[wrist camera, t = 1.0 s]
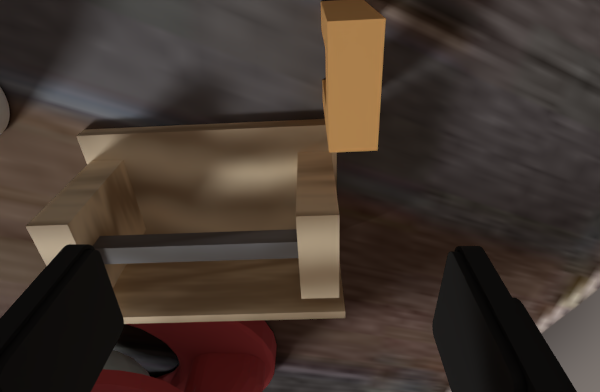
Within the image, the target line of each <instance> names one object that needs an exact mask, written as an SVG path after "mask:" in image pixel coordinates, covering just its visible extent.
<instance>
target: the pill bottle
mask: <svg viewBox="0 0 600 392" xmlns="http://www.w3.org/2000/svg"><path fill="white" fill-rule="evenodd" d="M9 117H10V110H9V104H8V101H7V98H6V96H5V94H4V92H3V90H2V89H1V87H0V135H1V134H2V133H3V131H4V130H5V129H6V127H7V125H8V122H9Z"/></svg>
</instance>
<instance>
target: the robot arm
mask: <svg viewBox="0 0 600 392" xmlns="http://www.w3.org/2000/svg"><path fill="white" fill-rule="evenodd" d="M123 327H124V319H123V316H122V313H121V310H120V307H119V304H118V301H117V299H116V296H115V293H114V290H113V287H112V285H111V282H110V279H109V276H108V273H107V270H106V268H105V265H104V262H103V259H102V256H101V254H100V252H99V251H98V250H95V249H94V247H93V246H92V245H89V244H69V245H66V246H65V247H63V248H62V250H61V251H60V252H59V253H58V254H57V255H56V256H55V257H54V259H53V260H52V261H51V262H50V263H49V264H48V265H47V267H46V268H45V269H44V270H43V271H42V272H41V273H40V274H39V276H38V277H37V278H36V279H35V280H34V281H33V282H32V283H31V285H30V286H29V287H28V288H27V289H26V290H25V291H24V292H23V294H22V295H21V296H20V297H19V298H18V299H17V300H16V301H15V303H14V304H13V305H12V306H11V307H10V308H9V309H8V311H7V312H6V313H5V314H4V315H3V316H2V317H1V318H0V392H91V390H92V389H93V387H94V385H95V383H96V381H97V379H98V377H99V375H100V373H101V371H102V369H103V367H104V366H105V364H106V362H107V360H108V358H109V356H110V354H111V352H112V350H113V348H114V346H115V345H116V343H117V341H118V339H119V337H120V335H121V333H122V331H123ZM433 335H434V338H435V341H436V344H437V348H438V351H439V354H440V357H441V360H442V363H443V366H444V369H445V372H446V375H447V378H448V382H449V385H450V388H451V391H452V392H577V391H576V390H575V388H574V387H573V385H572V383H571V382H570V380H569V378H568V377H567V375H566V373H565V372H564V370H563V369H562V367H561V365H560V364H559V362H558V361H557V359H556V357H555V356H554V354H553V352H552V351H551V349H550V348H549V346H548V344H547V343H546V341H545V339H544V338H543V336H542V334H541V333H540V331H539V330H538V328H537V326H536V325H535V323H534V321H533V320H532V318H531V317H530V315H529V313H528V312H527V310H526V308H525V307H524V305H523V304H522V303H521V301H520V300H518V299H517V298H512V297H511V295H510V293H509V291H508V290H507V288H506V286H505V285H504V283H503V281H502V280H501V278H500V276H499V275H498V273H497V271H496V270H495V268H494V266H493V265H492V263H491V261H490V260H489V258H488V256H487V255H486V253H485V251H484V250H483V248H482V247H480V246H458V247H456V249H455V251H454V252H449V253H448V256H447V261H446V265H445V270H444V274H443V279H442V283H441V288H440V292H439V296H438V301H437V305H436V310H435V314H434V319H433Z"/></svg>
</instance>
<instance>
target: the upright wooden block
mask: <svg viewBox="0 0 600 392" xmlns="http://www.w3.org/2000/svg"><path fill="white" fill-rule="evenodd" d="M385 21H386V18H385V17H383V16H382V15H381V14H380V13H379V12H377V11H376V10H375V9H374V8H373V7H372V6H370V5H369V4H368V3H367V2H366V1H364V0H335V1H321V30H322V34H323V39H324V44H325V54H326V79H325V80H322V83H323V108H324V116H325V124H326V133H327V141H328V149H329V153H332V152H356V151H378V136H379V119H380V103H381V86H382V70H383V54H384V37H385Z"/></svg>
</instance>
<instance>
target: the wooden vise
mask: <svg viewBox="0 0 600 392" xmlns="http://www.w3.org/2000/svg"><path fill="white" fill-rule="evenodd" d="M77 139H78V142H79V144H80V147H81V149H82V152H83V155H84V157H85V160H86V162H87V166H86V167H85V168H84V169H83V170H82V171H81V172H80V173H79V174H78V175H77V176H76V177H75V178H74V179H73V180H72V181H71V182H70V183H69V184H68V185H67V186H66V187H65V188H64V189H63V190H62V191H61V192H60V193H59V194H58V195H57V196H56V197H55V198H54V199H53V200H52V201H51V202H50V203H49V204H48V205H47V206H46V207H45V208H44V209H43V210H42V211H40V212H39V213H38V214H37V215H36V216H35V217H34V218H33V219H32V220H31V221H30V222H29V223H28V224H27V225H26V228H27V230H28V232H29V234H30V235H31V237H32V239H33V241H34V243H35V245H36V247H37V249H38V251H39V252H40V254H41V256H42V258H43V260H44V262H45V264H46V266H47V265H48V264H49V263H50V262H51V261H52V260H53V259H54V257H55V256H56V255H57V254H58V253H59V252H60V251H61V250H62V248H63V247H65V246H66V245H69V244H89V245H92V246H93V247H94V249H95V250H98V251H99V252H100V254H101V256H102V259H103V262H104V265H105V268H106V270H107V273H108V276H109V279H110V282H111V285H112V287H113V290H114V293H115V296H116V299H117V301H118V304H119V307H120V310H121V313H122V316H123V319H124V324H141V323H179V322H216V321H254V320H292V319H329V318H345V304H344V295H343V287H342V278H341V269H340V260H339V228H340V215H339V207H338V199H337V152H332V153H329V149H328V141H327V133H326V124H325V119H307V120H285V121H263V122H240V123H218V124H195V125H173V126H150V127H128V128H106V129H84V130H83V131H82V132H81V133H79V134H78V135H77Z"/></svg>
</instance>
